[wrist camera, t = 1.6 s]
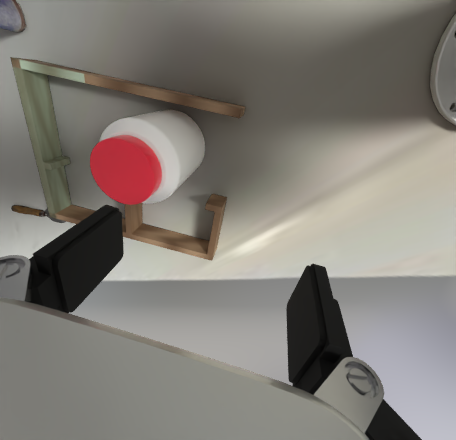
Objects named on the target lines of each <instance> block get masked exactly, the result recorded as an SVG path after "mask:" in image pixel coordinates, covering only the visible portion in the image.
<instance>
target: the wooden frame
mask: <svg viewBox="0 0 456 440" xmlns="http://www.w3.org/2000/svg"><path fill="white" fill-rule="evenodd" d="M10 58H11V62H12V66H13V70H14V74H15V78H16V82H17V86H18V90H19V94H20V98H21V102H22V106H23V110H24V114H25V118H26V122H27V126H28V130H29V134H30V138H31V142H32V146H33V150H34V155H35V159H36V163H37V167H38V171H39V175H40V179H41V183H42V187H43V191H44V195H45V199H46V203H47V207H48V211H49V215H50V217H52V218H56V219H60V220H64V221H67V222H71V223H75V224H78V223H79V222H81V221H82V220H84V219H85V218H87V217H88V216H90V215H91V214H93V213H94V212H96V211H94V210H90V209H86V208H82V207H78V206H75V205H71V200H70V194H69V189H68V184H67V178H66V173H65V168H64V166H65V165H68V164H70V160H69V158H68V157H64V156H62V151H61V146H60V141H59V135H58V130H57V125H56V119H55V114H54V108H53V103H52V98H51V92H50V87H49V82H48V76H47V75H51V76H56V77H60V78H65V79H69V80H73V81H78V82H82V83H87V84H91V85H96V86H100V87H105V88H109V89H113V90H118V91H122V92H127V93H131V94H135V95H140V96H144V97H149V98H153V99H157V100H162V101H166V102H171V103H175V104H179V105H184V106H188V107H193V108H197V109H202V110H206V111H210V112H215V113H219V114H224V115H228V116H232V117H237V118H241V117H242V116H243V115H244V111H245V107H244V106H239V105H235V104H230V103H226V102H221V101H217V100H212V99H208V98H203V97H199V96H194V95H190V94H185V93H181V92H176V91H172V90H167V89H163V88H158V87H154V86H150V85H145V84H141V83H136V82H132V81H127V80H123V79H118V78H114V77H109V76H105V75H100V74H96V73H91V72H87V71H82V70H78V69H73V68H69V67H64V66H60V65H56V64H51V63H47V62H42V61H38V60H30V59H21V58H12V57H10ZM226 200H227V197H223V196H219V195H215V194H212V195H211V196H210V198H209V199H208V201H207V203H206V207H205V209H206V210H210V211H214V212H215V213H214V219H213V224H212V230H211V236H210V241H207V240H203V239H199V238H196V237H192V236H188V235H184V234H180V233H177V232H173V231H169V230H165V229H162V228H158V227H154V226H150V225H146V224H143V223H142V203H139V204H135V205H128V204H125V219H124V218H122V229H123V237H126V238H130V239H134V240H138V241H141V242H145V243H149V244H152V245H156V246H160V247H163V248H167V249H171V250H175V251H178V252H182V253H186V254H189V255H193V256H197V257H200V258H204V259H208V260H212V259H213V257H214V254H215V251H216V249H217V245H218V240H219V235H220V230H221V225H222V220H223V215H224V210H225V205H226Z"/></svg>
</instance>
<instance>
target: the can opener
mask: <svg viewBox="0 0 456 440" xmlns="http://www.w3.org/2000/svg"><path fill="white" fill-rule="evenodd" d="M11 209H12V211H15V212H18V213H23V214H31V215H36V216H41V217H42V216H47V217H49V218H50V219H51V220H52V221H55V222H59V223H64V222H66V221H64V220H60V219H56V218H52V217H50V215H49V211H48V209H47V210H45V211H43V210H38V209H32V208H29V207H25V206H18V205H14V206H12V208H11Z"/></svg>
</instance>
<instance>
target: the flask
mask: <svg viewBox="0 0 456 440" xmlns="http://www.w3.org/2000/svg"><path fill="white" fill-rule="evenodd" d="M0 28H2V29H6V30H10V31H13V32H20V31H23V30H24V29H25V28H26V24H25V20H24V14H23V12H22V10H21V7H20V4H19V3H17V2H16V0H0Z"/></svg>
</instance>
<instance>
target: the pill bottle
mask: <svg viewBox="0 0 456 440" xmlns="http://www.w3.org/2000/svg"><path fill="white" fill-rule="evenodd" d="M204 154H205V142H204V137H203V134H202V132H201V130H200V128H199V126H198V125H197V124H196V123H195V121H194V120H193V119H191V118H190V117H189V116H188V115H186V114H184V113H183V112H180V111H177V110H162V111H157V112H151V113H146V114H141V115H136V116H131V117H126V118H122V119H119V120H116V121H114V122H113V123H111V124H110V125H109V126H107V128H106V129H105V130H104V131H103V133H102V135H101V138H100V140H99V143H98V144H96V146H95V147H94V148H93V150H92V153H91V157H90V167H91V172H92V175H93V177H94V179H95V181H96V183H97V185H98V186H99V187H100V188H101V190H102V191H103V192H104V193H105V194H106V195H108V196H109V197H110V198H112V199H114V200H115V201H117V202H120V203H123V204H128V205H135V204H139V203H145V204H152V203H157V202H161V201H163V200H165V199H167V198H168V197H169V196H170V195H172V194H173V193H174V192H175V191H176V190H177V189H178V188H179V187H180V186H181V185H182V184H183V183H184V182H185V181H186V180H187V179H188V178H189V177H190V176H191V175H192V174H193V173H194V172H195V171H196V170H197V169H198V167H199V166H200V165H201V163H202V161H203V159H204Z"/></svg>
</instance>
